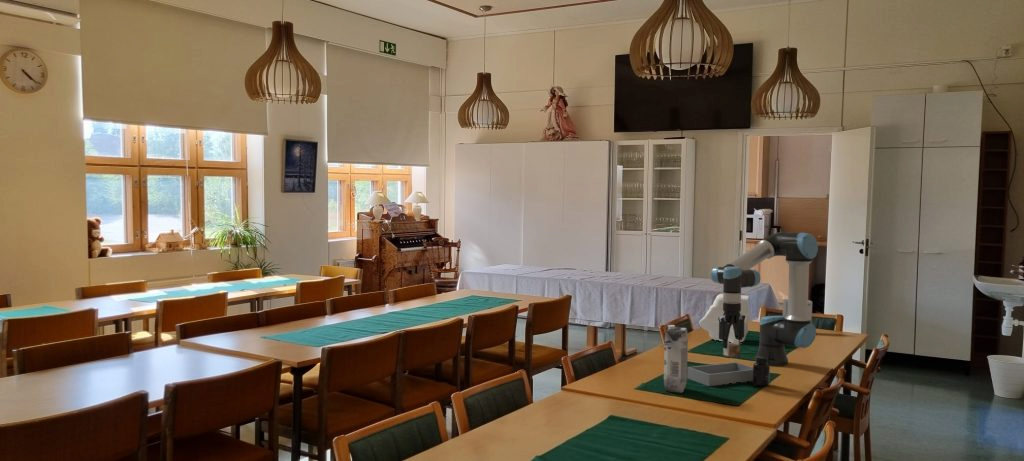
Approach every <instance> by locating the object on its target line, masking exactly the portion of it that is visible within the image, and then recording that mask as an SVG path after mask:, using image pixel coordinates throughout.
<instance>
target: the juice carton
mask: <svg viewBox="0 0 1024 461" xmlns="http://www.w3.org/2000/svg"><path fill="white" fill-rule="evenodd" d="M688 336H689V335H688V329H687V327H680V326H679V327H678V326H676V325H674V324H670V325H668V326H667V329H666V330H665V336H664V348H663V349H664V352H663V355H664V356H663V357H664V359H663V385H664V386H663V387H664V391H665V392H671V393H681V394H682V393H683V392H684V391H685V388H686V385H687V381H688V378H687V373H688V355H689V354H688V352H689V351H688V350H689V349H688V348H689V346H688V343H689V337H688Z"/></svg>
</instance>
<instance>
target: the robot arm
mask: <svg viewBox="0 0 1024 461" xmlns="http://www.w3.org/2000/svg"><path fill="white" fill-rule="evenodd" d="M818 252H819V245H818V241H817V239H816V237H815V235H812V234H811V233H807V232H796V231H795V232H790V231H789V232H788V231H779V232H776V233H773V234H771V235H768V236H766V237H765V238H763V239H761V240H759V241H758V242H757V243H756V245H755V246H754V247H752V248H751V249H749V250H747V251H746V252H745V253H742V254H741V255H740V256H737V258H735V259H733V260H731V261H730V262H729V263H727V264H725V265H724V266H722V267H721V266H715V267H713V268H712V270H711V271H710V277H711V280H712V282H714V283H716V284H719V285H723V286H722V287H723V288H722V290H723V291H722V292H723V293H722V294H723V301H724V303H723V311H724V314H723V316H722V317H718V320H719V339H721V340H723V342H722V349H723V348H724V355H726V356H725V357H727V356H729V341H728V337H729V332H730V327H731V326H732V325H733V329H734V334H735V338H736V339H734V344H738V345H740V346H741V343H740V340H742V338H744V320H745V316H744V315H740V311H741V303H740V302H741V295H742V288H750V287H751V288H752V287H755V286H758V285H759V284H760V282H761V274H760V273H759V271H758V270H756V269H752V268H754V267H755V266H757V265H759V264H760V263H761V262H763V261H765V260H766V259H772V258H773V257H779V256H780V257H781V256H782V257H785V262H786V263H787V264H788V293H787V294H788V298H787V299H788V315H787V316H786V317H785V316H783V315H768V316H762V317H761V318H760V324H759V345H758V346H759V347H758V349H757V353H756V355H755V358H754V359H755V362H754V363H756V357H758V356H762V357H767V358H768V362H767V364H769V366H770V367H772V366H773V367H783V366H787V365H788V364H789V359H788V355H787V351H786V346H791V347H796V348H803V349H806V348H808V347H811V346H812V344H813V343H814V341H815V339H816V335H817V328H816V327H815V326H816V325H815V324H813V323H812V320H811V319H810V318H809V317H808V315H807V311H808V300H809V296H808V295H809V265H811V263H812V262H813V259H814V258H816V257H817V255H818ZM728 323H729V324H728ZM785 345H786V346H785ZM724 355H723V356H724Z"/></svg>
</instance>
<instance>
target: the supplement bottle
mask: <svg viewBox="0 0 1024 461" xmlns="http://www.w3.org/2000/svg"><path fill="white" fill-rule="evenodd" d="M755 357H756V356H755ZM767 362H768V358H767V357H762V356H758V357H756V362H754V363H753V366H752V367H753V381H752V385H754V386H757V387H765V388H766V387H768V386H770V376H771V375H770V374H771V372H770V370H771V366H770V365H769V364H767Z"/></svg>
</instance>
